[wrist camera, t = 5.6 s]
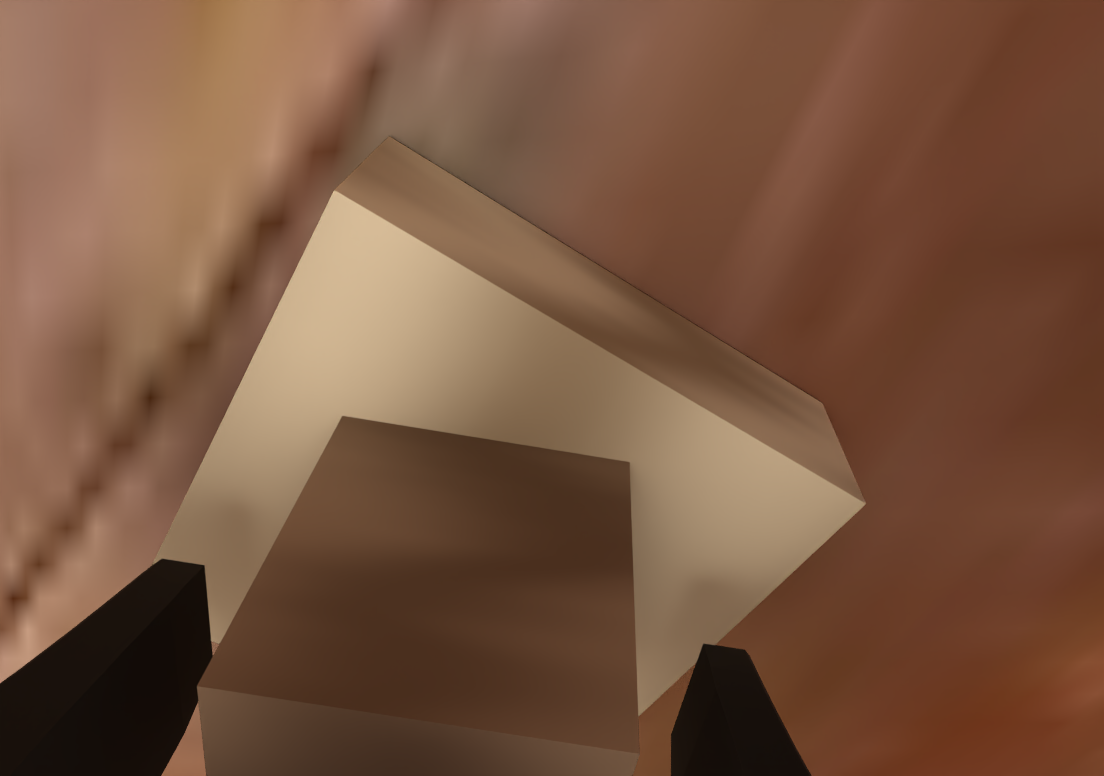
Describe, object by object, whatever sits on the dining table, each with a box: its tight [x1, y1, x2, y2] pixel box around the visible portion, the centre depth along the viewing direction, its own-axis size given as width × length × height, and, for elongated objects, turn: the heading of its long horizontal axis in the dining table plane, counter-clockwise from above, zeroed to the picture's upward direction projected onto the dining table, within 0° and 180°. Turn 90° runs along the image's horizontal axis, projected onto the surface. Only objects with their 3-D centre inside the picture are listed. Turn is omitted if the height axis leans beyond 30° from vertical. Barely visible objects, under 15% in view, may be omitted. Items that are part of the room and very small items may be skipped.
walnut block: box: [197, 416, 640, 776], centre depth 11 cm, size 4×4×5 cm
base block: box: [152, 136, 866, 717], centre depth 15 cm, size 9×9×3 cm
